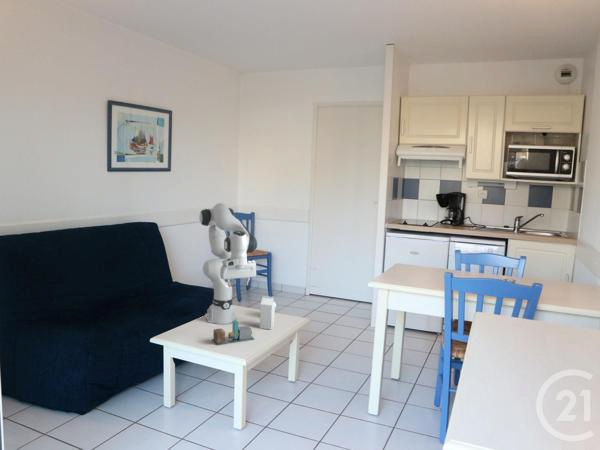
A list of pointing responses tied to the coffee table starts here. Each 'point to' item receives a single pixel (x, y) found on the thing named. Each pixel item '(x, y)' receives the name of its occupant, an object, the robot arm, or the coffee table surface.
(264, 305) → the milk carton
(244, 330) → the grey base plate
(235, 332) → the rod
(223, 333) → the socket
